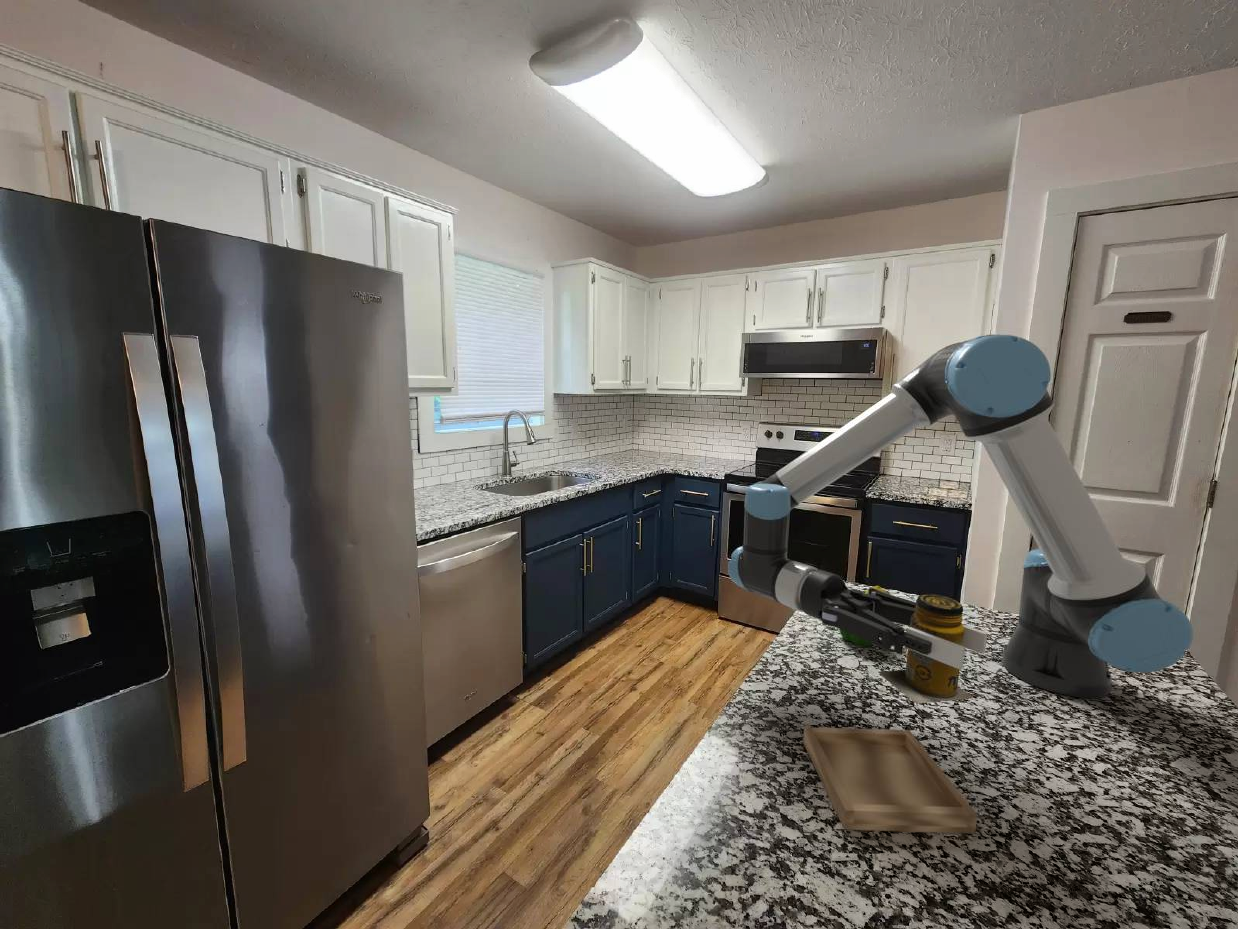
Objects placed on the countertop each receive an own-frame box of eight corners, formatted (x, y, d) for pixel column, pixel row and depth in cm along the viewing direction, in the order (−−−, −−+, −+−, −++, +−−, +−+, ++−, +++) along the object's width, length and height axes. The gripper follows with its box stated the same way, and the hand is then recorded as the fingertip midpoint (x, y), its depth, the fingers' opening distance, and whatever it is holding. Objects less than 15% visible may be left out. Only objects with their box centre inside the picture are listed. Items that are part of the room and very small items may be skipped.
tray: (907, 746, 75) (909, 730, 74) (975, 833, 60) (977, 814, 59) (803, 743, 75) (804, 727, 75) (844, 829, 60) (845, 810, 60)
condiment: (973, 698, 66) (984, 610, 65) (916, 705, 65) (925, 614, 63) (930, 668, 73) (938, 588, 72) (877, 674, 72) (884, 592, 70)
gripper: (843, 600, 89) (1000, 657, 70) (772, 628, 78) (935, 704, 59) (846, 558, 88) (1007, 604, 69) (775, 580, 77) (942, 642, 58)
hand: (973, 650), depth 64 cm, fingers closed on condiment, 6 cm apart
